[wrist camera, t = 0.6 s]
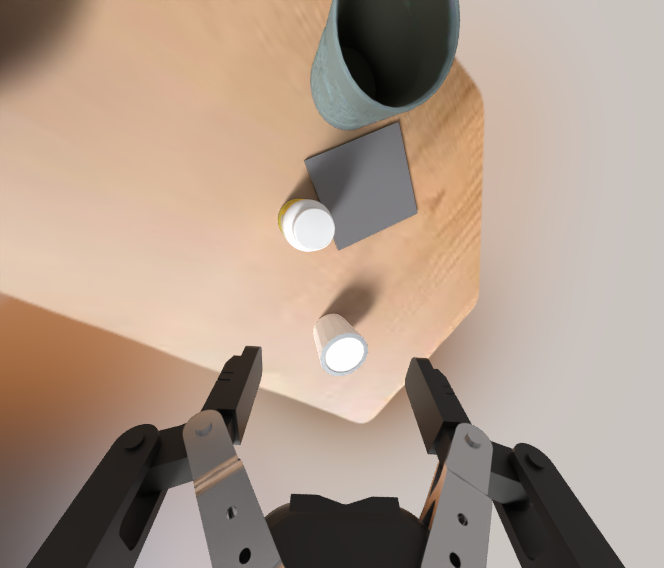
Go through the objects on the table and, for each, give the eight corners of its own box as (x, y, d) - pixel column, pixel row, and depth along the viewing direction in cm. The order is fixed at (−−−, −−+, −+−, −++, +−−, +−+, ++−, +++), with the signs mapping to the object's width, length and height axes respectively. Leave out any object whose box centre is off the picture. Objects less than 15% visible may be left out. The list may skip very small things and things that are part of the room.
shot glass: (310, 311, 37) (322, 335, 30) (352, 308, 39) (371, 331, 32) (308, 349, 39) (318, 379, 33) (347, 345, 41) (365, 373, 35)
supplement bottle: (317, 196, 31) (342, 198, 22) (319, 238, 33) (343, 255, 24) (274, 199, 30) (283, 201, 21) (279, 242, 32) (289, 261, 23)
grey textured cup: (396, 63, 29) (482, -15, 18) (367, 153, 31) (428, 133, 20) (316, 11, 25) (363, -126, 14) (291, 119, 27) (316, 72, 17)
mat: (337, 249, 34) (339, 250, 34) (304, 161, 29) (305, 160, 29) (415, 212, 36) (417, 213, 36) (396, 122, 31) (398, 121, 30)
